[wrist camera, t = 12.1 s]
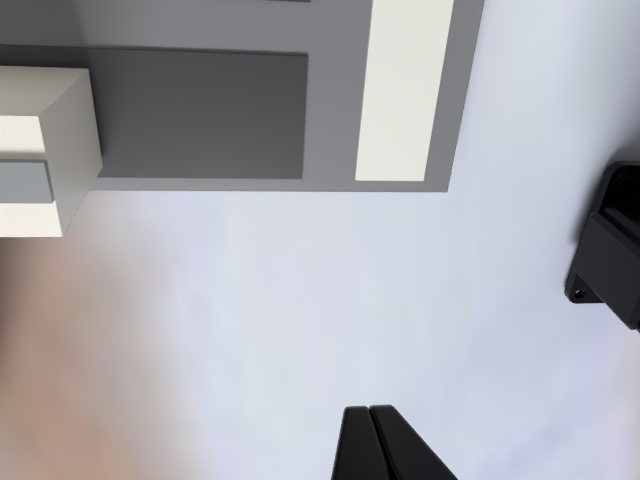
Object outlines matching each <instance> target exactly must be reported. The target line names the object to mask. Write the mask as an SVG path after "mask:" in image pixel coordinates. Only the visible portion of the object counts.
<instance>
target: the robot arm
mask: <svg viewBox="0 0 640 480" xmlns="http://www.w3.org/2000/svg"><path fill="white" fill-rule="evenodd" d="M621 172H623V174H622V175H621V177H619V178H618V179H616V177H617V176H618V174H619V173H621ZM578 290H580V291H579V292H577V291H578ZM576 292H577V293H576ZM564 293H565V296H566V297H567V298H568V299H569V300H570V301H571V302H572V303H576V304H579V303H605V304H606V305H607V306H608V307H609V308H610V309H611V310H612V311H613V312H614V313H615V314H616V316H617V317H618V318H619V319H620V320H621V321H622V322H623V323H624V324H625V325H626V326H627V327H628V328H629V329H631V330H637V331H638V332H639V333H640V162H637V161H620V162H615V163H613V164H612V165H610V166H609V167H608V168H607V170H606V172H605V174H604V177H603V180H602V182H601V185H600V188H599V191H598V194H597V197H596V200H595V203H594V206H593V209H592V211H591V214H590V217H589V219H588V222H587V225H586V227H585V230H584V233H583V236H582V239H581V242H580V245H579V248H578V251H577V254H576V256H575V259H574V262H573V265H572V269H571V272H570V275H569V278H568V281H567V284H566V287H565V291H564ZM331 480H458V479H457V478H456V477H455V475H454V474H453V473H452V472H451V471H450V470H449V469H448V468H447V466H446V465H445V464H444V463H443V462H442V461H441V460H440V458H439V457H438V456H437V455H436V454H435V453H434V452H433V451H432V449H431V448H430V447H429V446H428V445H427V444H426V443H425V441H424V440H423V439H422V438H421V437H420V436H419V435H418V434H417V432H416V431H415V430H414V429H413V428H412V427H411V426H410V424H409V423H408V422H407V421H406V420H405V419H404V418H403V417H402V415H401V414H400V413H399V412H398V411H397V410H396V409H395V408H394V407H393V406H392V405H372V406H370V407H369V408H368V407H366V406H348V407H346V408H345V409H344V413H343V418H342V424H341V429H340V434H339V440H338V445H337V450H336V455H335V461H334V466H333V471H332V477H331Z"/></svg>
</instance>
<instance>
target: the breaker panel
mask: <svg viewBox="0 0 640 480" xmlns="http://www.w3.org/2000/svg"><path fill="white" fill-rule="evenodd" d="M483 5H484V0H0V66H24V67H54V68H84V69H89V76H90V83H91V90H92V97H93V103H94V110H95V117H96V124H97V130H98V137H99V144H100V151H101V158H102V164H103V167H102V169H101V171H100V173H99V174H98V176H97V178H96V179H95V181H94V183H93V185H92V186H91V188H90V190H123V191H300V192H447V191H448V186H449V181H450V176H451V170H452V165H453V160H454V155H455V150H456V145H457V140H458V134H459V129H460V124H461V119H462V114H463V109H464V103H465V98H466V93H467V88H468V83H469V78H470V72H471V67H472V62H473V57H474V52H475V47H476V42H477V36H478V31H479V26H480V21H481V16H482V11H483Z"/></svg>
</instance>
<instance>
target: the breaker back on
mask: <svg viewBox="0 0 640 480" xmlns="http://www.w3.org/2000/svg"><path fill="white" fill-rule="evenodd" d="M102 167H103V164H102V158H101V151H100V144H99V137H98V130H97V124H96V117H95V110H94V103H93V97H92V90H91V83H90V76H89V69H84V68H54V67H24V66H0V237H62V236H63V235H64V233H65V231H66V230H67V228H68V226H69V224H70V223H71V221H72V219H73V217H74V216H75V214H76V212H77V211H78V209H79V207H80V205H81V204H82V202H83V200H84V198H85V197H86V195H87V193H88V192H89V190H90V188H91V186H92V185H93V183H94V181H95V179H96V178H97V176H98V174H99V173H100V171H101V169H102Z"/></svg>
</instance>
